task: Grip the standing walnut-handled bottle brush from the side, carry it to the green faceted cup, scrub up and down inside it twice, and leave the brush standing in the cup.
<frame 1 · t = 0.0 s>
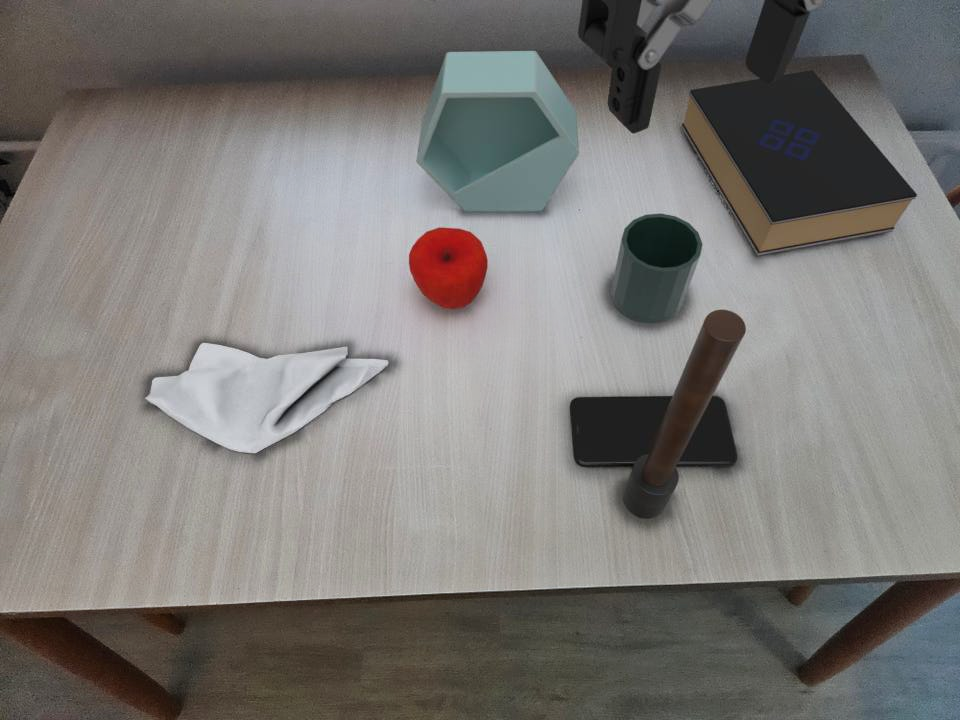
hand: (697, 98, 34), 38 cm above the table, tool pointing down, fingers open, 8 cm apart
planter: (498, 192, 86), on the table
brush: (644, 498, 61), on the table
smartphone: (649, 433, 65), on the table
cloth: (264, 397, 70), on the table
green faceted cup: (646, 295, 75), on the table
book: (776, 181, 85), on the table
apple: (452, 295, 76), on the table
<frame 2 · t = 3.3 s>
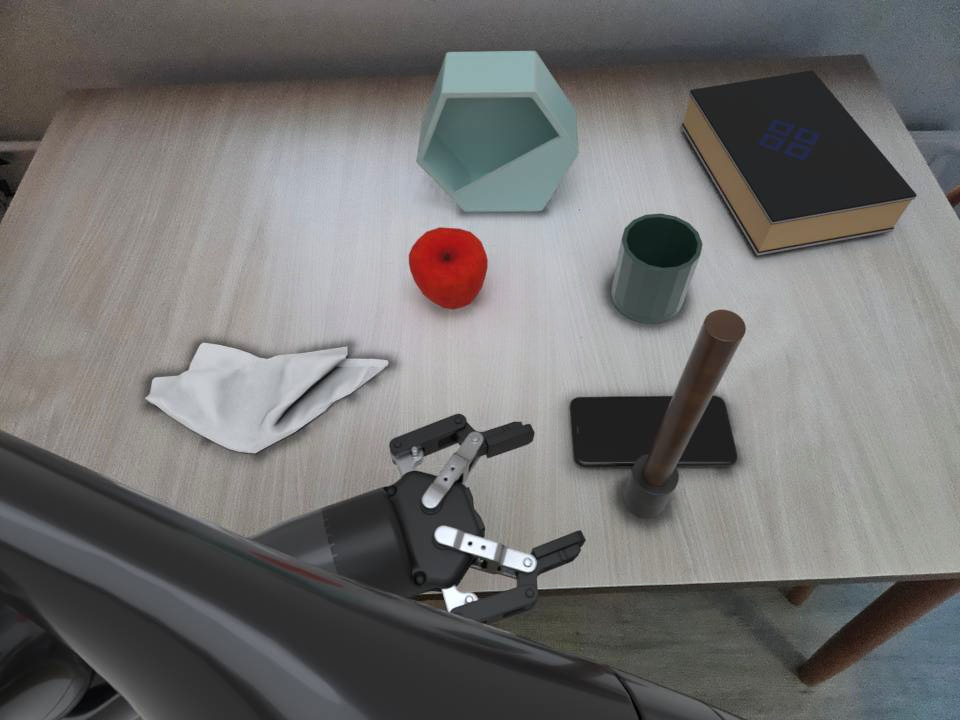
hand: (555, 482, 46), 16 cm above the table, tool horizontal, fingers open, 8 cm apart
nothing on the table moved.
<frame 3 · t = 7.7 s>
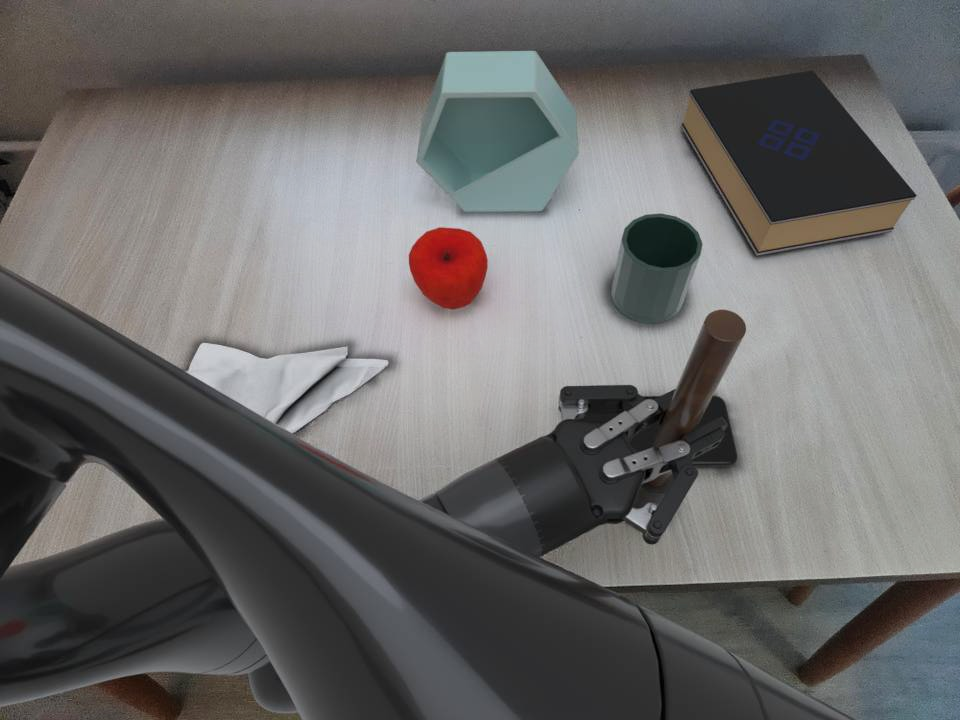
hand: (708, 410, 50), 15 cm above the table, tool horizontal, fingers closed on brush, 2 cm apart
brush: (644, 498, 61), on the table, touching gripper
everything else where it was.
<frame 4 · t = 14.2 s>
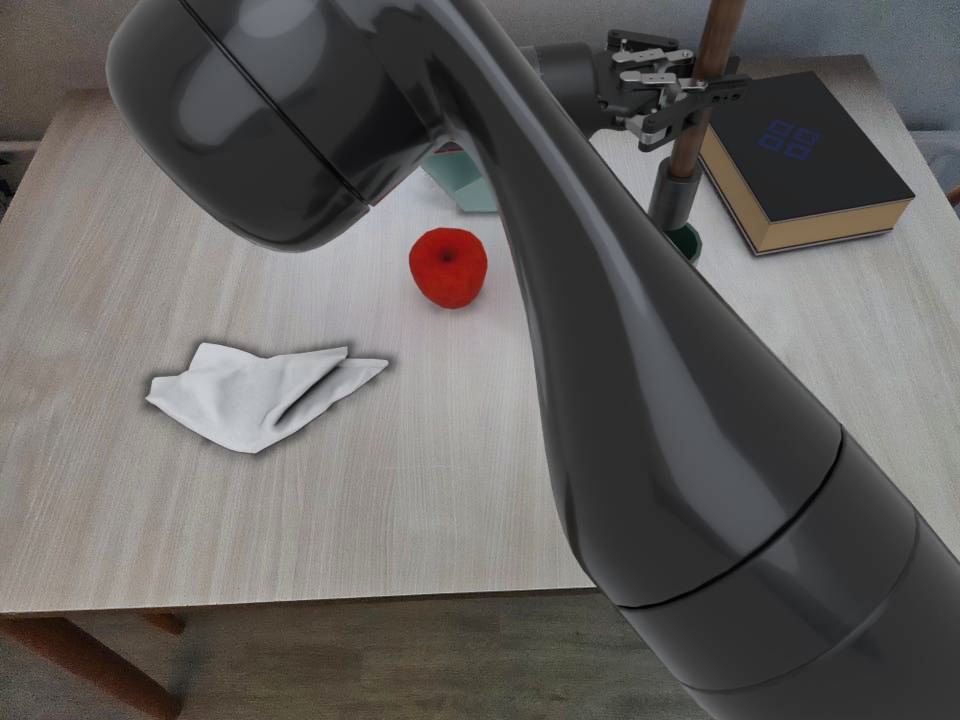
hand: (741, 76, 52), 28 cm above the table, tool horizontal, fingers closed on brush, 2 cm apart
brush: (667, 216, 64), point 13 cm above the table, touching gripper
everything else where it was.
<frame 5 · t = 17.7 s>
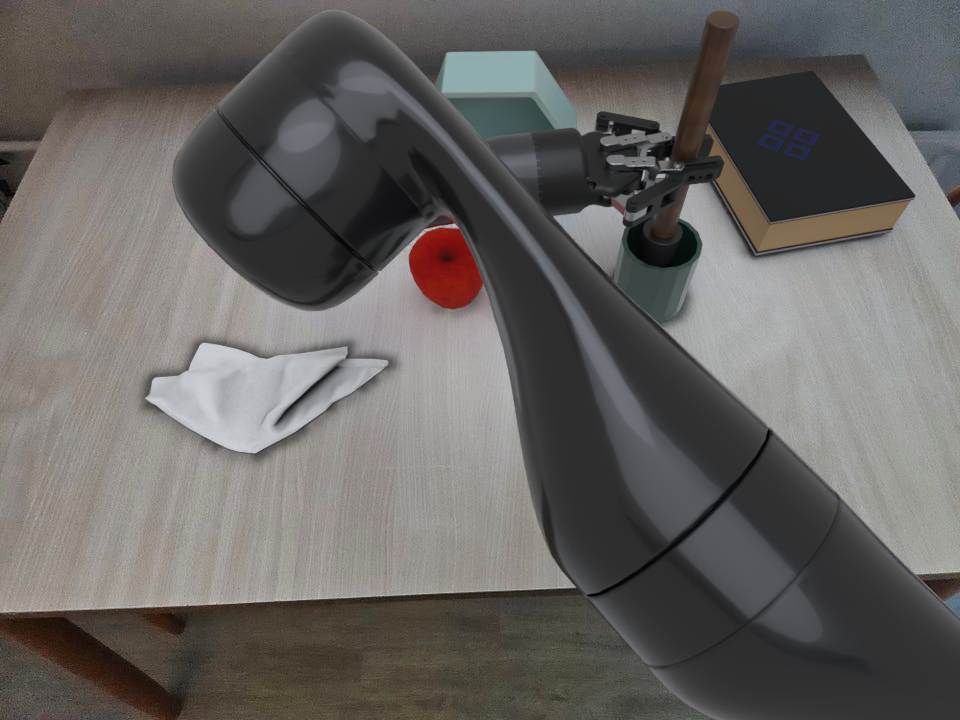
hand: (714, 156, 59), 20 cm above the table, tool horizontal, fingers closed on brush, 2 cm apart
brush: (651, 269, 71), point 5 cm above the table, touching gripper
everything else where it was.
when the fingers open (16 cm above the table, at t = 20.7 s): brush stays where it is, resting on green faceted cup.
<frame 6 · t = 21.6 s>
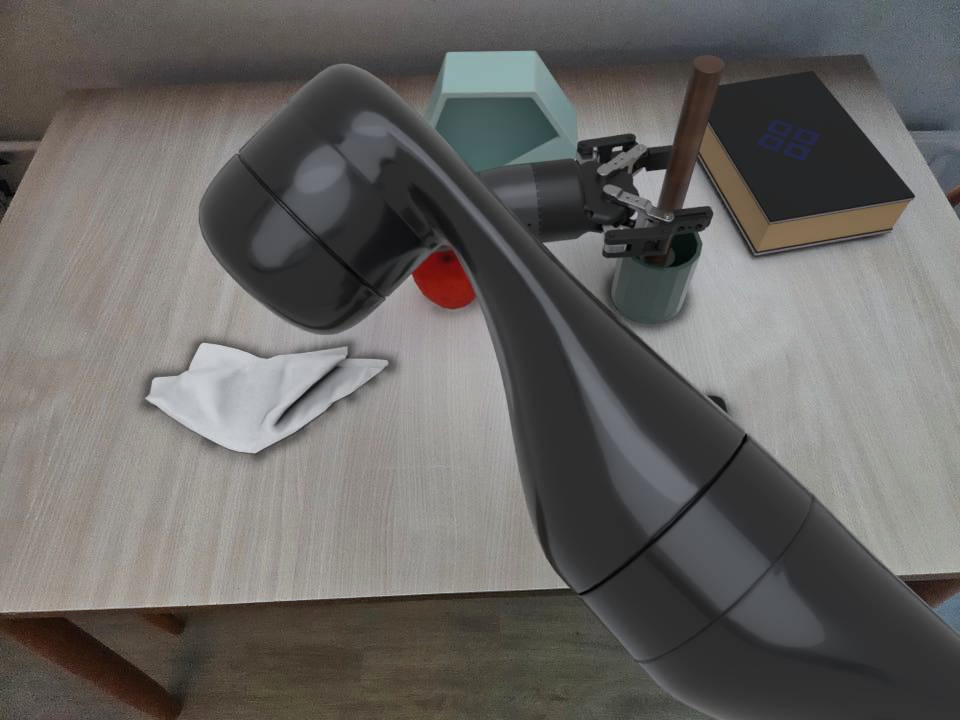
hand: (696, 185, 61), 16 cm above the table, tool horizontal, fingers open, 8 cm apart
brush: (646, 290, 74), point 1 cm above the table, touching green faceted cup
everything else where it was.
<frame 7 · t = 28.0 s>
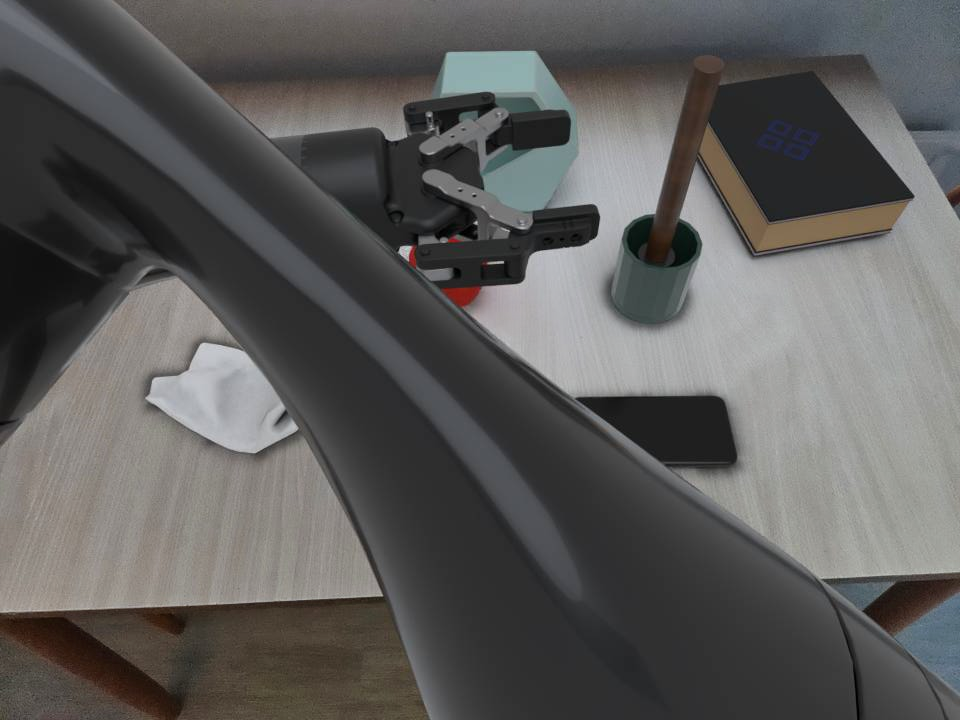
hand: (582, 171, 39), 33 cm above the table, tool horizontal, fingers open, 8 cm apart
nothing on the table moved.
at the end: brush 0.2 cm off-centre in the green faceted cup, point 1.0 cm above the green faceted cup's base; the gripper is holding nothing; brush moved 25.1 cm from its start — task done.
